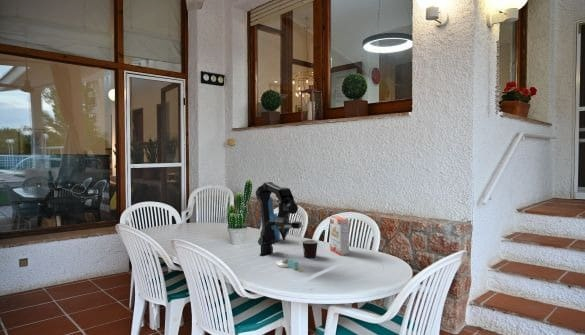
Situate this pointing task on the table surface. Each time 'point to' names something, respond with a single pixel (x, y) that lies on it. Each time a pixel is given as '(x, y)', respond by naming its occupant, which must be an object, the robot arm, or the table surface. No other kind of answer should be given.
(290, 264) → the dial
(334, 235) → the cracker box
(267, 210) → the robot arm
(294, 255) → the table surface
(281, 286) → the table surface
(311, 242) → the coffee mug
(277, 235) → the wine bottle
